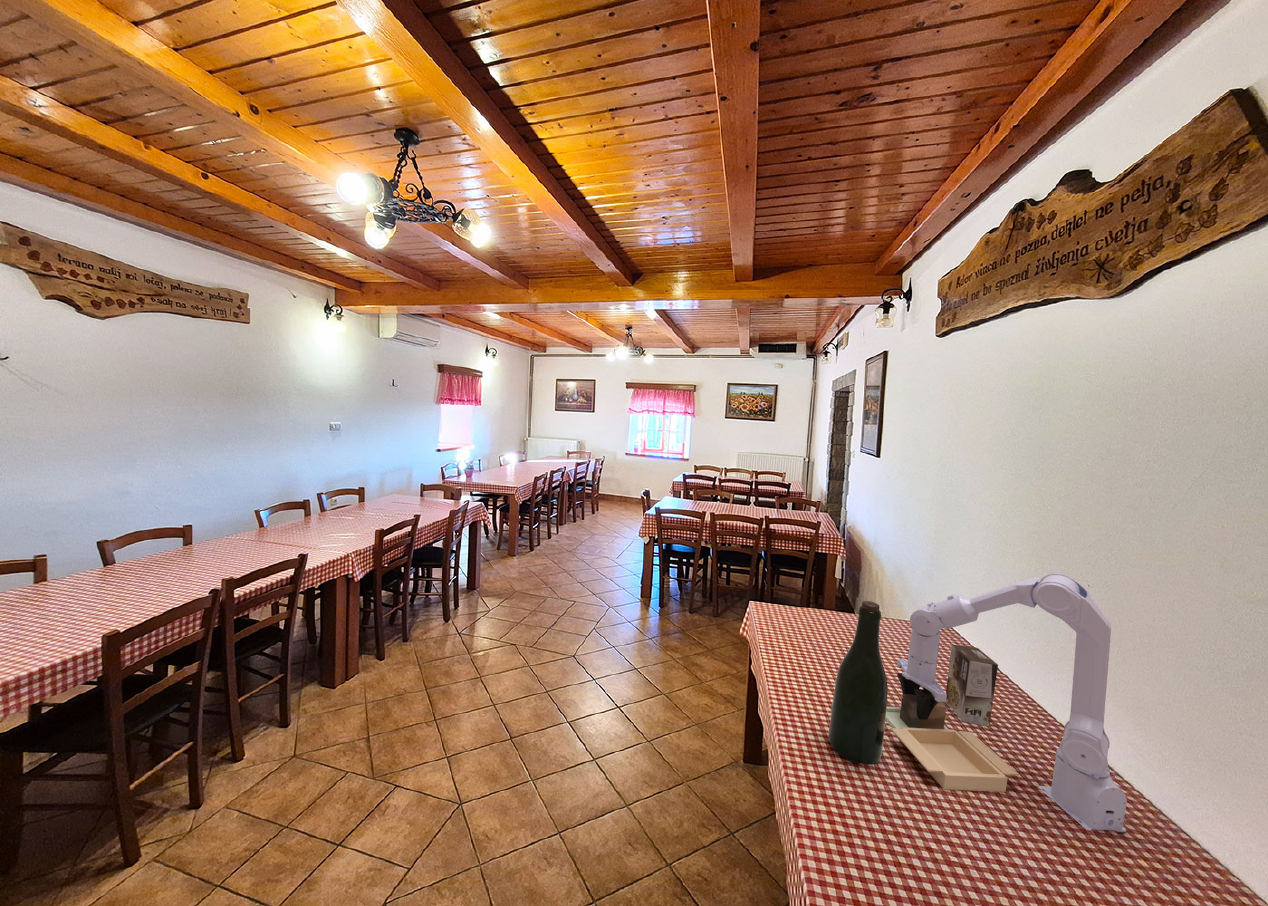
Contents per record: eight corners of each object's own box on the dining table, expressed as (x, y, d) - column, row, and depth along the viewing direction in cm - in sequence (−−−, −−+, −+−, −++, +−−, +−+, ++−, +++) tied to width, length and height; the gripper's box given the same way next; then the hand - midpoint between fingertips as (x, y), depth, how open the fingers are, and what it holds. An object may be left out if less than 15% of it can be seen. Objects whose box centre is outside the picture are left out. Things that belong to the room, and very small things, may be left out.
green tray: (955, 742, 102) (956, 736, 102) (901, 740, 101) (901, 734, 101) (925, 713, 112) (926, 708, 112) (875, 711, 111) (876, 706, 111)
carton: (1019, 795, 88) (1022, 777, 88) (929, 791, 87) (931, 773, 87) (965, 745, 101) (967, 729, 101) (886, 741, 101) (888, 725, 100)
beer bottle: (851, 770, 91) (869, 614, 89) (817, 735, 101) (833, 594, 99) (892, 763, 94) (911, 612, 91) (855, 729, 104) (871, 592, 101)
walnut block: (943, 731, 105) (946, 706, 104) (910, 729, 104) (913, 704, 104) (931, 719, 109) (934, 696, 108) (899, 717, 109) (902, 693, 108)
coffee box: (990, 729, 108) (999, 665, 107) (961, 723, 109) (969, 660, 108) (970, 706, 117) (978, 647, 116) (943, 701, 118) (951, 642, 117)
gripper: (887, 641, 112) (881, 692, 113) (927, 673, 98) (920, 732, 99) (914, 642, 113) (908, 693, 114) (958, 675, 98) (950, 733, 99)
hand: (915, 711), depth 106 cm, fingers closed on walnut block, 4 cm apart
